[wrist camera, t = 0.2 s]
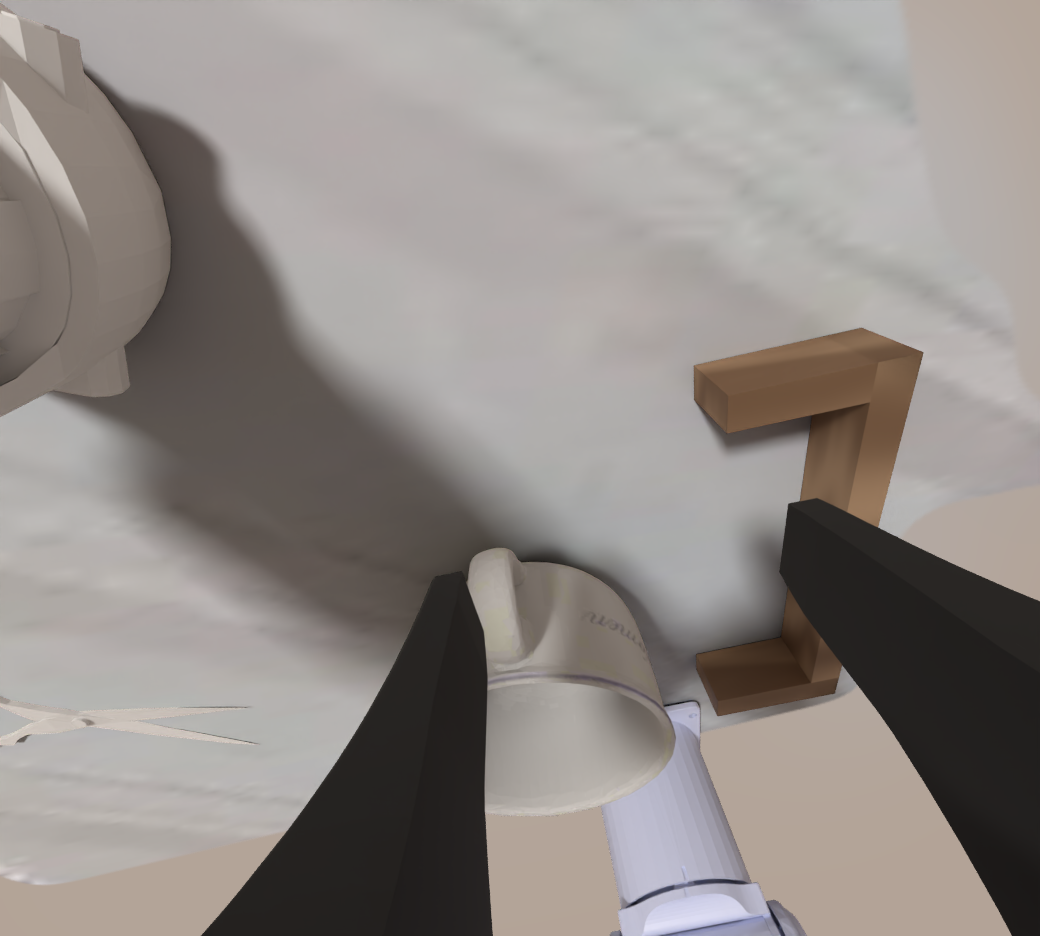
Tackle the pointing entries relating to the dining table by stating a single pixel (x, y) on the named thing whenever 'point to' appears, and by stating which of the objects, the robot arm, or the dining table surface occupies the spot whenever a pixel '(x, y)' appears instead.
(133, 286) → the lantern
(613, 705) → the teacup
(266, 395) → the dining table surface
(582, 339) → the dining table surface
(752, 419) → the dock
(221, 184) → the dining table surface
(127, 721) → the scissors
